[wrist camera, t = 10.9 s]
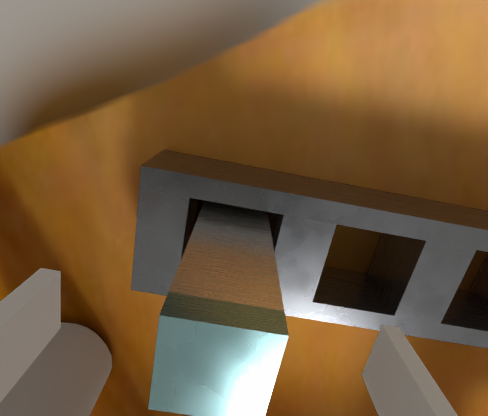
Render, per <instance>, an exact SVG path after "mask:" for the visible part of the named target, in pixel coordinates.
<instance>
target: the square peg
mask: <svg viewBox="0 0 488 416" xmlns="http://www.w3.org/2000/svg"><path fill="white" fill-rule="evenodd" d="M288 336H289V335H288V329H287V323H286V318H285V312H284V306H283V300H282V294H281V288H280V282H279V276H278V270H277V264H276V259H275V253H274V247H273V241H272V235H271V229H270V223H269V217H268V212H266V211H260V210H255V209H249V208H244V207H238V206H233V205H227V204H222V203H216V202H211V201H204V203H203V206H202V208H201V211H200V213H199V216H198V218H197V221H196V223H195V226H194V229H193V231H192V234H191V236H190V239H189V241H188V244H187V246H186V249H185V252H184V254H183V257H182V259H181V262H180V264H179V267H178V269H177V272H176V275H175V277H174V280H173V282H172V285H171V287H170V290H169V292H168V295H167V298H166V300H165V303H164V305H163V308H162V310H161V313H160V316H159V324H158V332H157V341H156V349H155V357H154V365H153V374H152V382H151V390H150V399H149V407H148V409H150V410H157V411H164V412H171V413H178V414H185V415H192V416H265V414H266V410H267V407H268V404H269V400H270V397H271V394H272V390H273V387H274V383H275V380H276V377H277V373H278V370H279V367H280V363H281V360H282V357H283V353H284V350H285V346H286V343H287V340H288Z"/></svg>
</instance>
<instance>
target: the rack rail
mask: <svg viewBox="0 0 488 416" xmlns="http://www.w3.org/2000/svg"><path fill="white" fill-rule="evenodd" d="M198 199H200V200H205V201H211V202H216V203H222V204H227V205H233V206H238V207H244V208H249V209H255V210H260V211H266V212H271V215H270V219H269V223H270V229H271V235H272V241H273V247H274V253H275V259H276V264H277V270H278V276H279V282H280V288H281V294H282V300H283V306H284V312H285V315H287V316H294V317H300V318H306V319H312V320H318V321H324V322H330V323H336V324H342V325H348V326H354V327H360V328H367V329H373V330H379V331H380V328H381V326H382V325H387V326H393V327H399V328H400V329H401V330H402V332H403V333H404V335H409V336H415V337H421V338H427V339H434V340H440V341H446V342H452V343H458V344H464V345H470V346H476V347H482V348H488V255H487V257H486V259H485V261H484V263H483V265H482V267H481V269H480V271H479V273H478V275H477V277H476V279H475V281H474V283H473V285H472V286H471V288H470V290H469V292H468V291H462V290H457V289H458V287H459V285H460V283H461V281H462V279H463V277H464V275H465V273H466V271H467V269H468V266H469V264H470V262H471V260H472V258H473V256H474V254H475V252H476V250H480V251H485V252H488V211H484V210H478V209H473V208H468V207H463V206H457V205H452V204H447V203H441V202H436V201H431V200H426V199H420V198H415V197H410V196H405V195H399V194H394V193H389V192H384V191H378V190H373V189H368V188H362V187H357V186H352V185H347V184H341V183H336V182H331V181H326V180H320V179H315V178H310V177H304V176H299V175H294V174H289V173H283V172H278V171H273V170H268V169H262V168H257V167H252V166H246V165H241V164H236V163H231V162H225V161H220V160H215V159H210V158H204V157H199V156H194V155H188V154H183V153H178V152H173V151H167V150H163V151H161V152H160V153H159V154H157V155H156V156H154V157H153V158H151V159H150V160H149V161H147V162H146V163H144V164H143V165H141V173H140V186H139V198H138V210H137V223H136V235H135V247H134V260H133V272H132V284H131V290H135V291H141V292H148V293H154V294H160V295H166V296H167V295H168V292H169V290H170V287H171V285H172V282H173V280H174V277H175V275H176V272H177V269H178V267H179V264H180V262H181V259H182V257H183V254H184V252H185V249H186V246H187V244H188V241H189V239H190V236H191V234H192V231H193V229H194V223H195V216H196V209H197V203H198ZM336 225H343V226H348V227H354V228H359V229H365V230H370V231H376V232H381V233H382V234H381V237H380V240H379V242H378V245H377V248H376V251H375V253H374V256H373V259H372V261H371V264H370V267H369V269H368V272H367V274H365V273H359V272H353V271H347V270H342V269H336V268H330V267H324V263H325V260H326V257H327V254H328V251H329V248H330V244H331V241H332V238H333V235H334V232H335V229H336Z"/></svg>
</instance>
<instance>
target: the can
mask: <svg viewBox="0 0 488 416" xmlns="http://www.w3.org/2000/svg"><path fill="white" fill-rule="evenodd" d="M111 369H112V356H111V354H110V351H109V349H108V347H107V345H106V344H105V343H104V342H103V340H102V339H101V338H100V337H99V336H98V335H97V334H96V333H95V332H94V331H92V330H90V329H89V328H87V327H85V326H82V325H79V324H76V323H63V322H61V328H60V329H59V330H58V332H57V333H56V334H55V335H54V337H53V338H52V339H51V340H50V342H49V343H48V344H47V345H46V347H45V348H44V349H43V350H42V352H41V353H40V354H39V355H38V357H37V358H36V359H35V360H34V362H33V363H32V364H31V365H30V367H29V368H28V369H27V370H26V372H25V373H24V374H23V375H22V376H21V378H20V379H19V380H18V381H17V383H16V384H15V385H14V386H13V388H12V389H11V390H10V391H9V393H8V394H7V395H6V396H5V398H4V399H3V400H2V401H1V403H0V416H90V414H91V412H92V410H93V407H94V405H95V403H96V401H97V399H98V397H99V395H100V393H101V391H102V389H103V387H104V385H105V383H106V381H107V379H108V377H109V374H110V371H111Z"/></svg>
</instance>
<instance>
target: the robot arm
mask: <svg viewBox="0 0 488 416" xmlns="http://www.w3.org/2000/svg"><path fill="white" fill-rule="evenodd" d="M60 328H61V271H56V270H50V269H44V268H40V269H39V270H38V271H36V272H35V273H34V274H33V275H32V276H30V277H29V278H28V279H27V280H26V281H24V282H23V283H22V284H21V285H20V286H18V287H17V288H16V289H15V290H14V291H12V292H11V293H10V294H9V295H8V296H6V297H5V298H4V299H3V300H2V301H0V403H1V401H2V400H3V399H4V398H5V396H6V395H7V394H8V393H9V391H10V390H11V389H12V388H13V386H14V385H15V384H16V383H17V381H18V380H19V379H20V378H21V376H22V375H23V374H24V373H25V372H26V370H27V369H28V368H29V367H30V365H31V364H32V363H33V362H34V360H35V359H36V358H37V357H38V355H39V354H40V353H41V352H42V350H43V349H44V348H45V347H46V345H47V344H48V343H49V342H50V340H51V339H52V338H53V337H54V335H55V334H56V333H57V332H58V330H59V329H60ZM362 377H363V380H364V382H365V385H366V387H367V390H368V392H369V394H370V397H371V399H372V402H373V404H374V407H375V409H376V411H377V414H378V416H458V415H457V414H456V412H455V411H454V409H453V408H452V406H451V405H450V403H449V401H448V400H447V398H446V397H445V395H444V394H443V392H442V391H441V389H440V388H439V386H438V385H437V383H436V382H435V380H434V379H433V377H432V376H431V374H430V373H429V371H428V370H427V368H426V367H425V365H424V364H423V362H422V361H421V359H420V358H419V356H418V355H417V353H416V352H415V350H414V349H413V347H412V346H411V344H410V343H409V341H408V340H407V338H406V337H405V335H404V333H403V332H402V330H401V329H400V328H399V327H393V326H387V325H382V326H381V328H380V331H379V333H378V336H377V338H376V341H375V343H374V345H373V348H372V350H371V353H370V355H369V358H368V360H367V363H366V365H365V368H364V370H363V373H362Z"/></svg>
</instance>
